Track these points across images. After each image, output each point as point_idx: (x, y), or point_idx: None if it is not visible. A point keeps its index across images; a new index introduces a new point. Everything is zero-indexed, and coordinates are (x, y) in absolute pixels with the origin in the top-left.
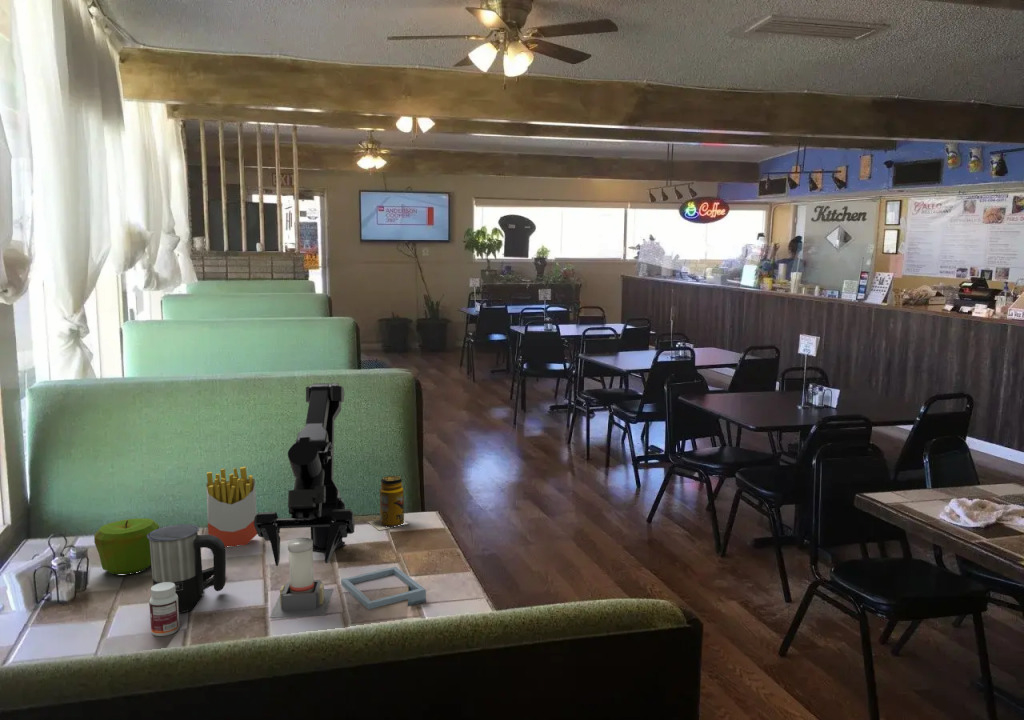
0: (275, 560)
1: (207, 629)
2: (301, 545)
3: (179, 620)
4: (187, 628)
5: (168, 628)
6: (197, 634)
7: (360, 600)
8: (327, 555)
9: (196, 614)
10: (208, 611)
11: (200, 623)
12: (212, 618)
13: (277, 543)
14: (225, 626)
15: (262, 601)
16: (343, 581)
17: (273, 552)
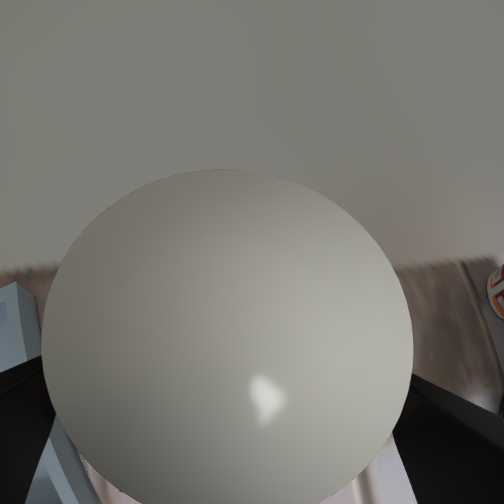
0: (415, 376)
1: (445, 295)
2: (197, 183)
3: (500, 296)
4: (478, 303)
5: (497, 269)
6: (451, 273)
7: (29, 342)
8: (22, 367)
9: (491, 372)
10: (478, 390)
11: (469, 326)
12: (459, 352)
13: (487, 458)
14: (418, 306)
15: (373, 468)
16: (77, 500)
17: (463, 400)
